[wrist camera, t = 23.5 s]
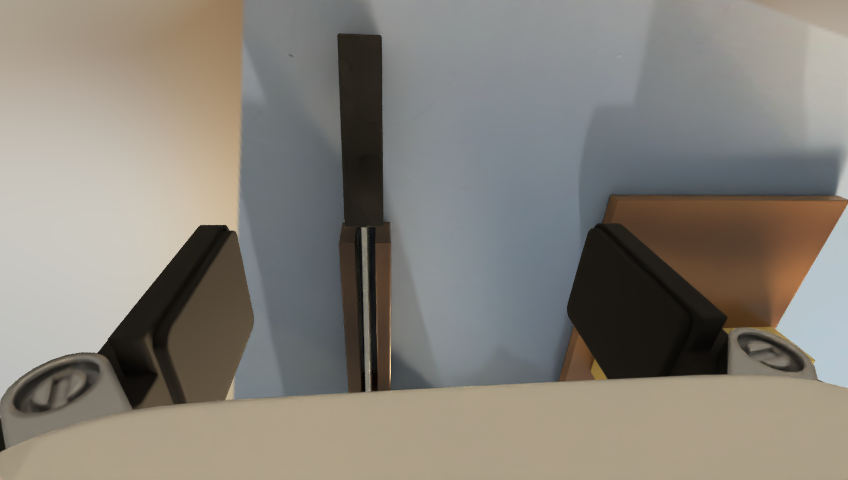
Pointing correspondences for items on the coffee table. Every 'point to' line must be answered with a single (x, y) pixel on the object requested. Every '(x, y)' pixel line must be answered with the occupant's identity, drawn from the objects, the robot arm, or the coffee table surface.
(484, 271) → the coffee table surface
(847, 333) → the coffee table surface
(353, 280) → the knife holder
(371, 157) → the knife
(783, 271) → the board
